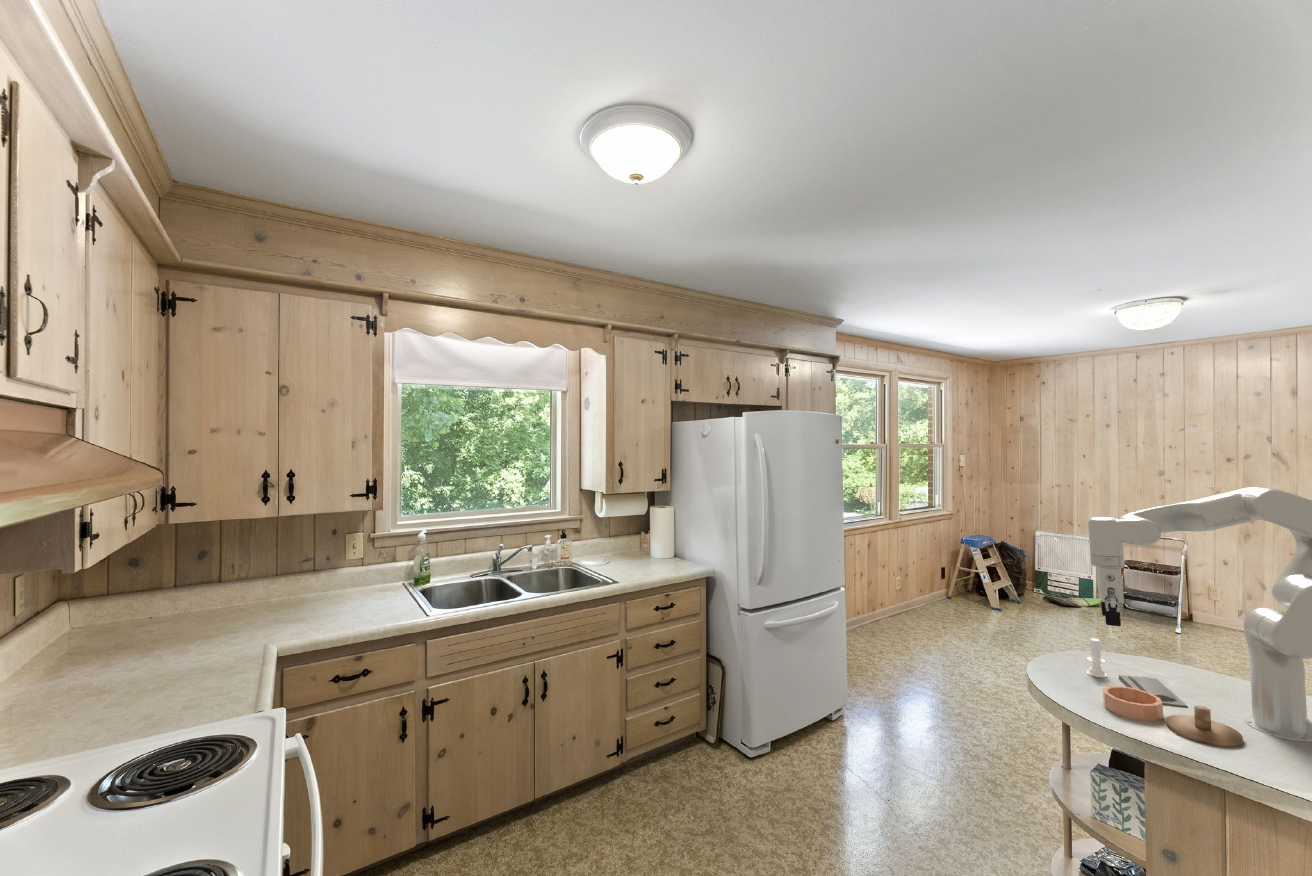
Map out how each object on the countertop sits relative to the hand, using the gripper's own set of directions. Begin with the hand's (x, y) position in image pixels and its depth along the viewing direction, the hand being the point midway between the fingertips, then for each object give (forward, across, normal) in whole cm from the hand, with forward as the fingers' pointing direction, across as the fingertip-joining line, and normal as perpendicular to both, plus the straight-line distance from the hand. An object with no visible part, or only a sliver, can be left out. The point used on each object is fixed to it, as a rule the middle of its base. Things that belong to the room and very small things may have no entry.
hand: (1111, 620), depth 158 cm
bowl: (+25, 0, -3) cm, 26 cm away
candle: (+26, +28, +2) cm, 38 cm away
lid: (+25, -7, -16) cm, 30 cm away
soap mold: (+26, +18, -10) cm, 33 cm away
